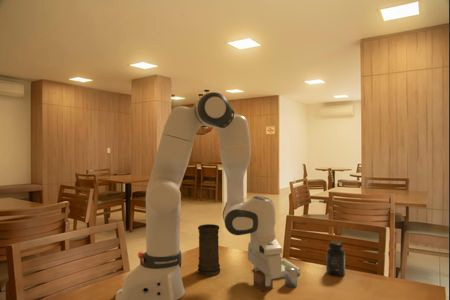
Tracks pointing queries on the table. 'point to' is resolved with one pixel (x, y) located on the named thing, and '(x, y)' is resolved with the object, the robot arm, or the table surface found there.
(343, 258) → the supplement bottle
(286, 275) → the metal cylinder
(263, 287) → the walnut block
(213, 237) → the container
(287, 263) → the tray
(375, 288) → the table surface
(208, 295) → the table surface
